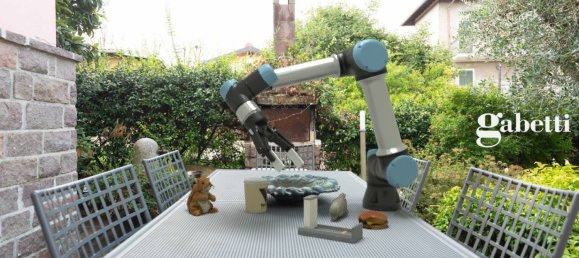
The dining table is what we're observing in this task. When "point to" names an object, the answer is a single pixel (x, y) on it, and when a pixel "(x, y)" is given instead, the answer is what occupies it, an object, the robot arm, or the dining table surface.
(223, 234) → the dining table surface
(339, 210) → the decorative bird
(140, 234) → the dining table surface
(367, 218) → the burger
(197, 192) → the stuffed squirrel
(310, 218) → the fader tab
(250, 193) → the coffee cup
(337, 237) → the fader rail
